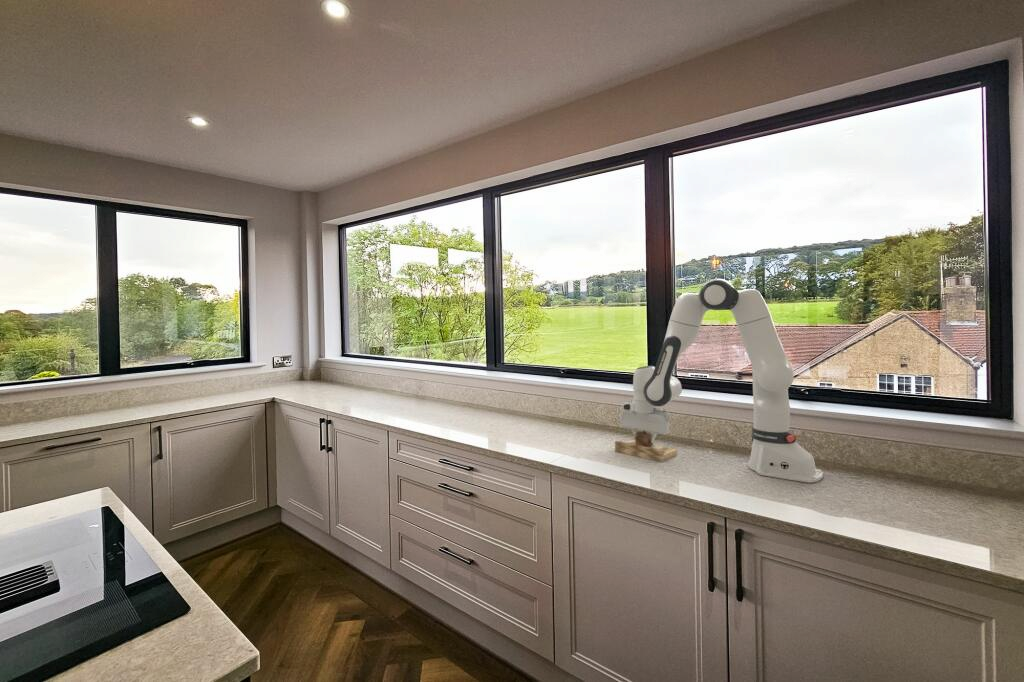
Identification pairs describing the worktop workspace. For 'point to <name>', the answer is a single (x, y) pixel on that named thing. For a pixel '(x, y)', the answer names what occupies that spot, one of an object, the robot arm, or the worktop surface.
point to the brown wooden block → (643, 438)
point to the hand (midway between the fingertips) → (644, 441)
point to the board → (645, 451)
